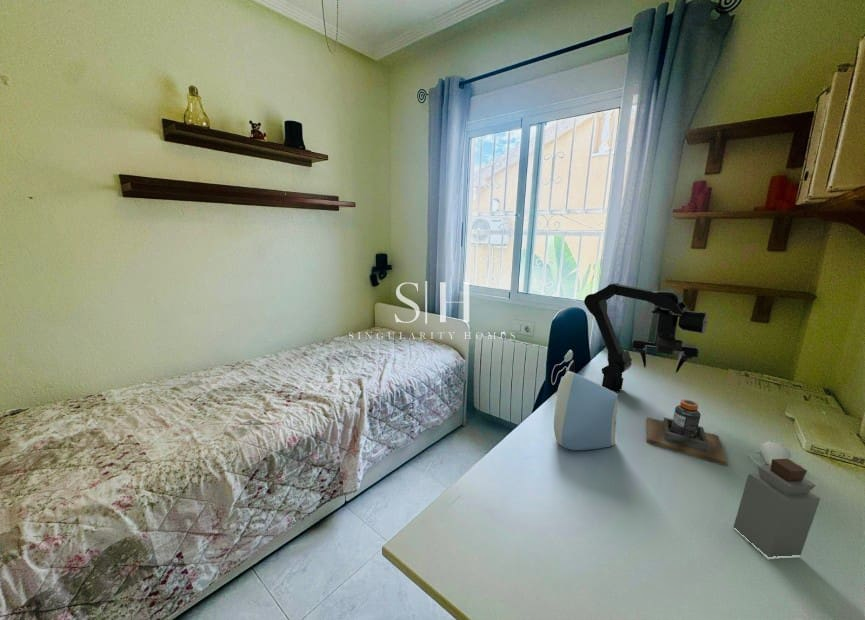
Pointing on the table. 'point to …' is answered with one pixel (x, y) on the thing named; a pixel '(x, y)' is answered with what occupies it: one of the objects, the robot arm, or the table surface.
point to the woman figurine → (772, 452)
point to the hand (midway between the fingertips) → (660, 369)
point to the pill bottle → (686, 419)
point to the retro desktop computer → (583, 411)
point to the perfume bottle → (777, 508)
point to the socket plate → (685, 441)
